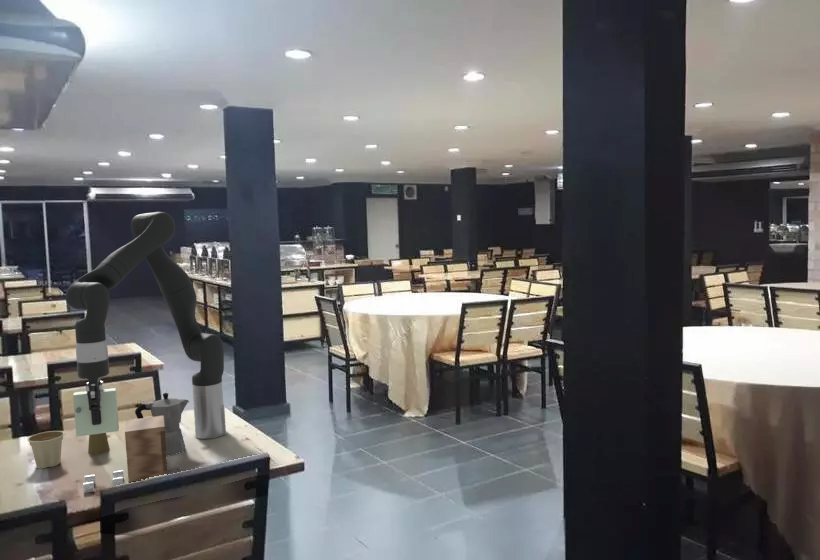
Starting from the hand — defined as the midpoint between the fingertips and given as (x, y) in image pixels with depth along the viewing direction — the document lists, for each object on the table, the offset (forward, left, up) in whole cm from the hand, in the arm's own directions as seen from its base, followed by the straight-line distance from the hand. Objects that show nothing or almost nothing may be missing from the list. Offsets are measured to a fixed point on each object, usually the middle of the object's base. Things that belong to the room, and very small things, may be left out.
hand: (97, 422), depth 176 cm
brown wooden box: (-11, -4, -17) cm, 21 cm away
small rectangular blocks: (0, 0, -17) cm, 17 cm away
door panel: (0, 0, -3) cm, 3 cm away
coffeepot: (-16, -20, -18) cm, 31 cm away
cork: (+3, -30, -18) cm, 35 cm away
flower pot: (+16, -24, -18) cm, 34 cm away
